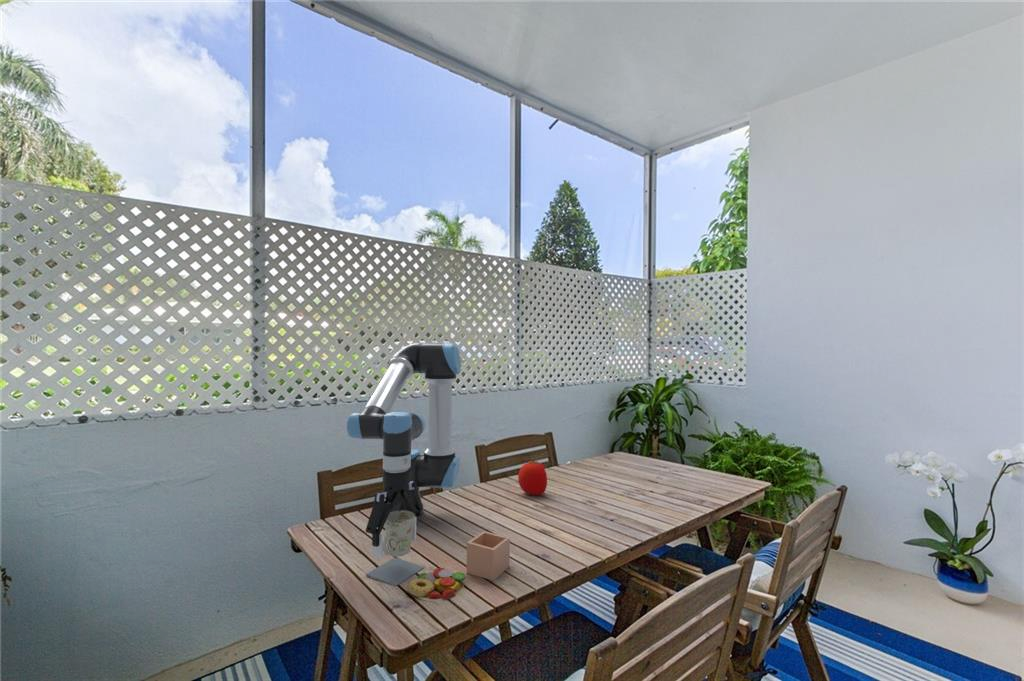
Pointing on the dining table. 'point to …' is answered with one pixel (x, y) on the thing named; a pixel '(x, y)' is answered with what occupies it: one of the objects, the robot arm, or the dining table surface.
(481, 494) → the dining table surface
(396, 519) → the mug
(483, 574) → the planter
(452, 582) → the toy food set
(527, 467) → the tomato
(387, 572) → the coaster
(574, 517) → the dining table surface
